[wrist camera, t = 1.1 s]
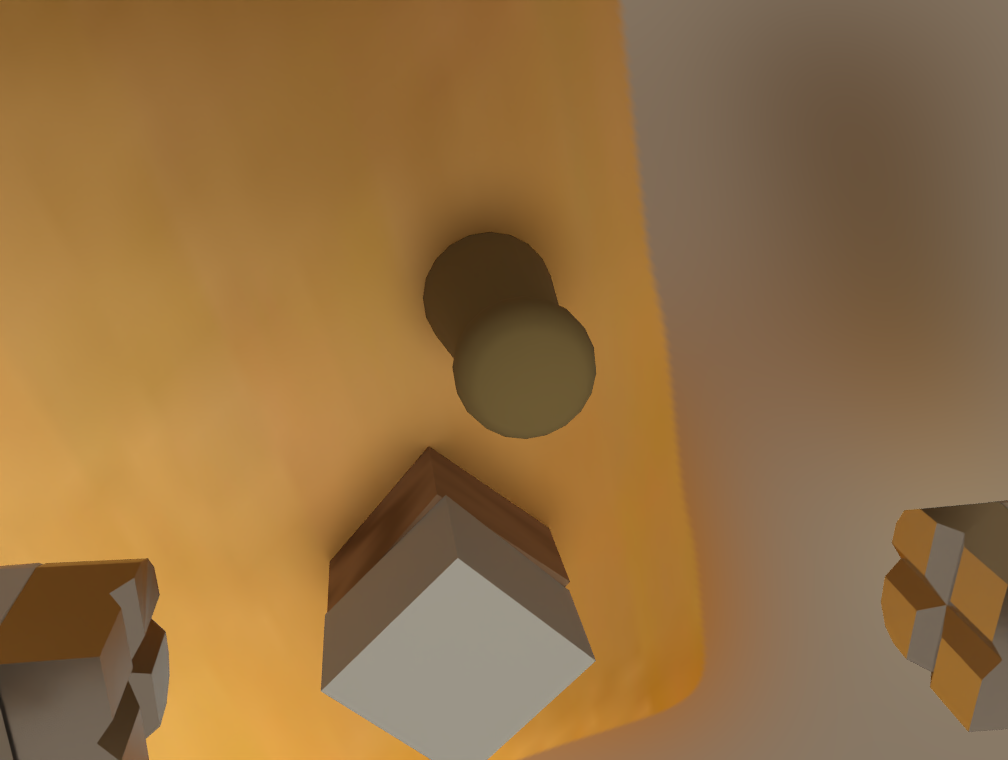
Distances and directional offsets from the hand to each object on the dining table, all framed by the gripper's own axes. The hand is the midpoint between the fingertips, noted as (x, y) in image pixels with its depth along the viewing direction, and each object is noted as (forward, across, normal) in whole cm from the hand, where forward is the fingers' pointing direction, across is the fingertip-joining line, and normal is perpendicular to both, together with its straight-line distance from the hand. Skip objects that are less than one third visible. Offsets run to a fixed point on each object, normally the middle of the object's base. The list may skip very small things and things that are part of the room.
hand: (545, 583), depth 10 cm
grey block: (+26, -1, +19) cm, 32 cm away
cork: (+31, -3, +6) cm, 32 cm away
